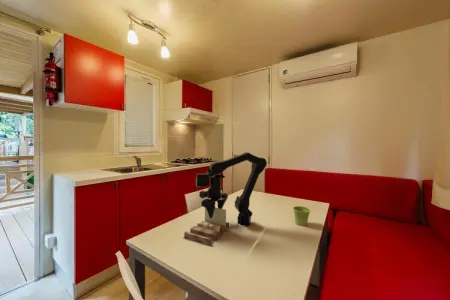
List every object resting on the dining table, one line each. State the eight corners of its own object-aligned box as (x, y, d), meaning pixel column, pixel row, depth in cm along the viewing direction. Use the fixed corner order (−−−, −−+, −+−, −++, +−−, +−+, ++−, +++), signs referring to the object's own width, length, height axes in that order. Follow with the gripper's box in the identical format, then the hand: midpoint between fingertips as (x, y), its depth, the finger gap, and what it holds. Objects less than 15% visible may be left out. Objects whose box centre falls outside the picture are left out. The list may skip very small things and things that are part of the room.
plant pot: (312, 228, 101) (312, 212, 101) (293, 226, 103) (294, 211, 103) (308, 221, 110) (308, 206, 110) (291, 219, 112) (291, 205, 112)
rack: (230, 228, 99) (230, 222, 99) (210, 248, 81) (210, 240, 81) (206, 223, 106) (206, 217, 106) (182, 239, 87) (182, 232, 87)
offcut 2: (219, 234, 92) (220, 225, 92) (217, 236, 90) (217, 227, 90) (211, 231, 94) (211, 223, 94) (208, 233, 92) (208, 225, 92)
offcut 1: (208, 231, 95) (208, 223, 95) (205, 232, 93) (205, 225, 93) (199, 228, 97) (199, 221, 97) (197, 230, 95) (197, 223, 95)
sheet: (225, 228, 98) (226, 209, 97) (224, 229, 96) (224, 210, 96) (206, 224, 103) (206, 206, 103) (204, 225, 102) (204, 206, 101)
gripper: (211, 181, 111) (211, 207, 111) (192, 188, 94) (192, 218, 95) (228, 183, 106) (228, 210, 106) (211, 190, 89) (211, 223, 90)
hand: (215, 215), depth 99 cm, fingers open, 9 cm apart
